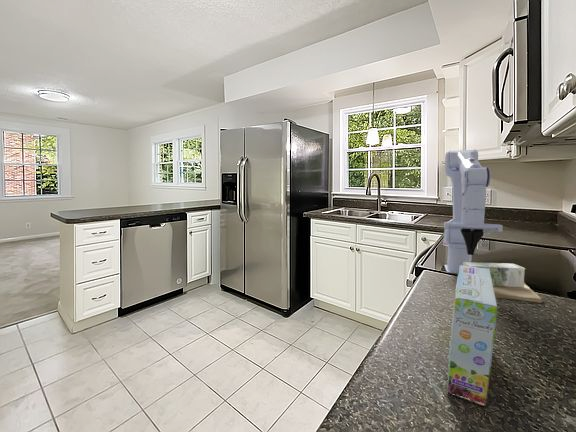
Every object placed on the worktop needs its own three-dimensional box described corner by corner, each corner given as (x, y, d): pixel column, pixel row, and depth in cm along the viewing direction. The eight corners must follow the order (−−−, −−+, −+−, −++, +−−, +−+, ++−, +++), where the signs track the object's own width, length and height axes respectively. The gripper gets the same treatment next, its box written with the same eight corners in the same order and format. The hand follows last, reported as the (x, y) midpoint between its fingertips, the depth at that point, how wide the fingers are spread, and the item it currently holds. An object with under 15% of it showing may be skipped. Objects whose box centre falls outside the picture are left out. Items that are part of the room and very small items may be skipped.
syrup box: (461, 279, 92) (513, 281, 89) (469, 285, 86) (525, 287, 83) (462, 261, 91) (514, 263, 89) (470, 266, 86) (526, 268, 83)
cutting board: (469, 279, 94) (469, 276, 94) (523, 285, 88) (523, 282, 88) (478, 295, 81) (478, 291, 81) (541, 302, 76) (542, 299, 76)
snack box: (491, 411, 40) (499, 306, 38) (445, 395, 43) (451, 297, 41) (485, 340, 58) (490, 266, 56) (452, 333, 61) (456, 262, 59)
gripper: (446, 209, 85) (444, 254, 86) (507, 210, 79) (503, 259, 80) (444, 207, 91) (442, 249, 93) (500, 208, 85) (496, 254, 87)
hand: (470, 254), depth 87 cm, fingers closed
